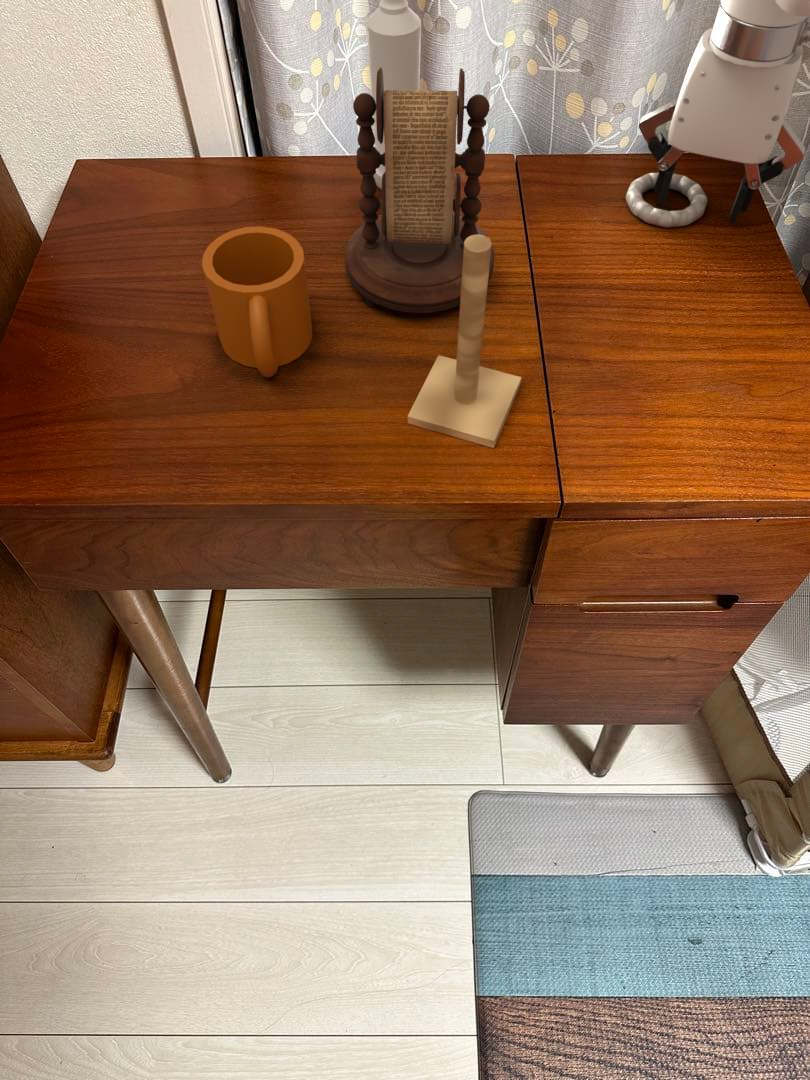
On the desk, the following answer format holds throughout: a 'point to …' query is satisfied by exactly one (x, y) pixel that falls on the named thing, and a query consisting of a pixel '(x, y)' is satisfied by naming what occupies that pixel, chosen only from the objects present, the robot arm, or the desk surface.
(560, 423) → the desk surface
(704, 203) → the ring
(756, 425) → the desk surface
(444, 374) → the wooden peg stand
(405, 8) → the bottle
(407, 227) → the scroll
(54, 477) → the desk surface
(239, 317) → the mug
